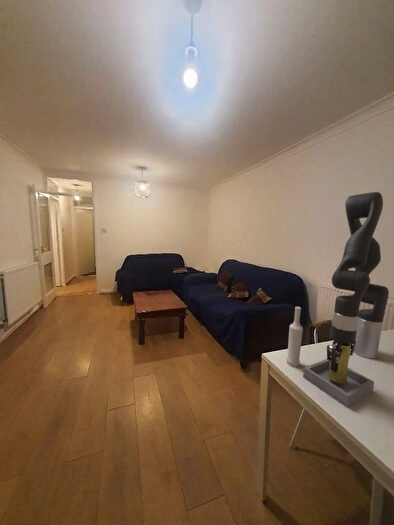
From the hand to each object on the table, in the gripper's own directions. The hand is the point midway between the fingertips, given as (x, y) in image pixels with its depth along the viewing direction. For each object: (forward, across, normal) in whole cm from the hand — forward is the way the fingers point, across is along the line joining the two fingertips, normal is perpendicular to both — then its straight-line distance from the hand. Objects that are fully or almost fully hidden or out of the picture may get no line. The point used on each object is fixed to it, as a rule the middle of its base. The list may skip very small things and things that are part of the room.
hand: (338, 368), depth 80 cm
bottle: (+7, +4, -16) cm, 18 cm away
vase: (+4, 0, 0) cm, 4 cm away
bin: (+6, 0, 0) cm, 6 cm away
